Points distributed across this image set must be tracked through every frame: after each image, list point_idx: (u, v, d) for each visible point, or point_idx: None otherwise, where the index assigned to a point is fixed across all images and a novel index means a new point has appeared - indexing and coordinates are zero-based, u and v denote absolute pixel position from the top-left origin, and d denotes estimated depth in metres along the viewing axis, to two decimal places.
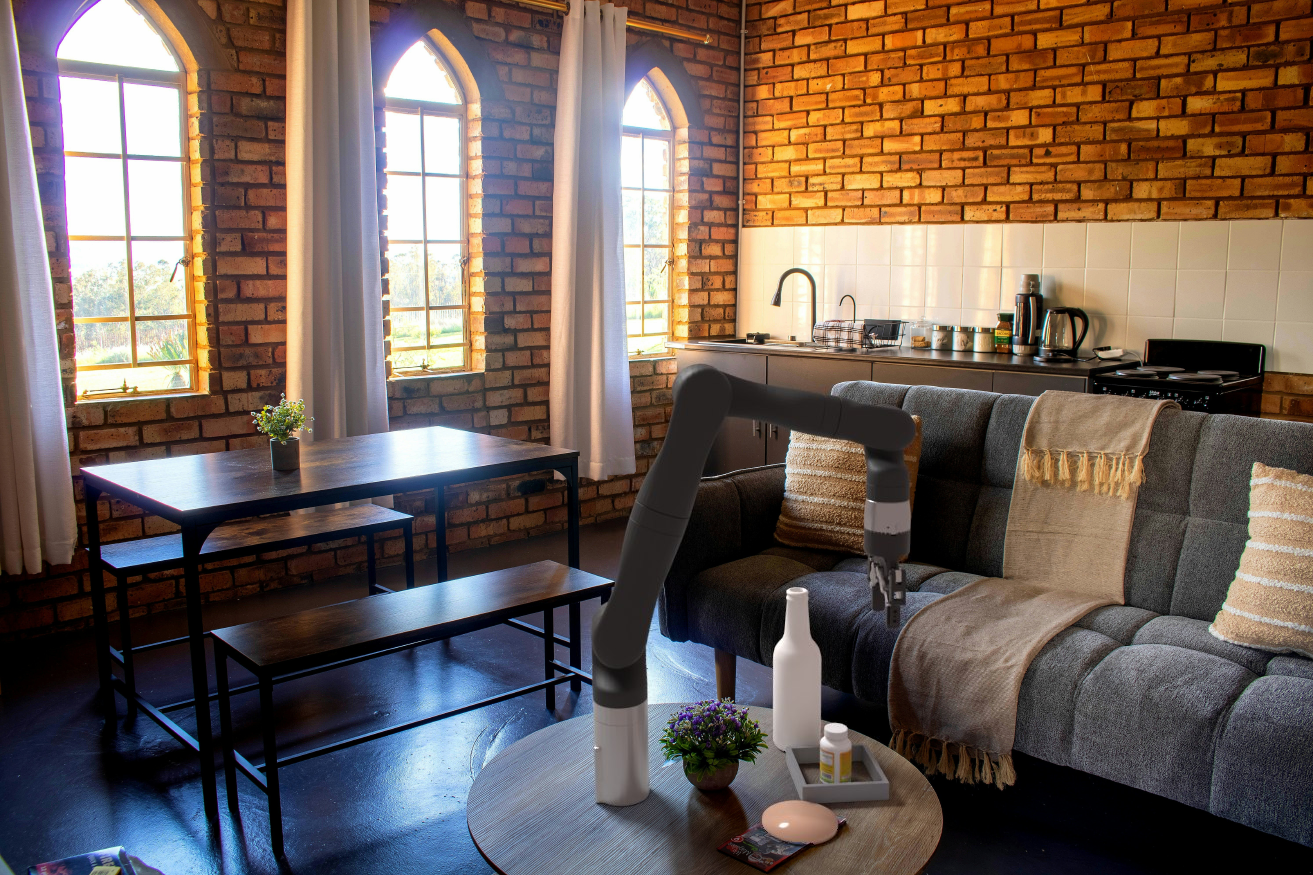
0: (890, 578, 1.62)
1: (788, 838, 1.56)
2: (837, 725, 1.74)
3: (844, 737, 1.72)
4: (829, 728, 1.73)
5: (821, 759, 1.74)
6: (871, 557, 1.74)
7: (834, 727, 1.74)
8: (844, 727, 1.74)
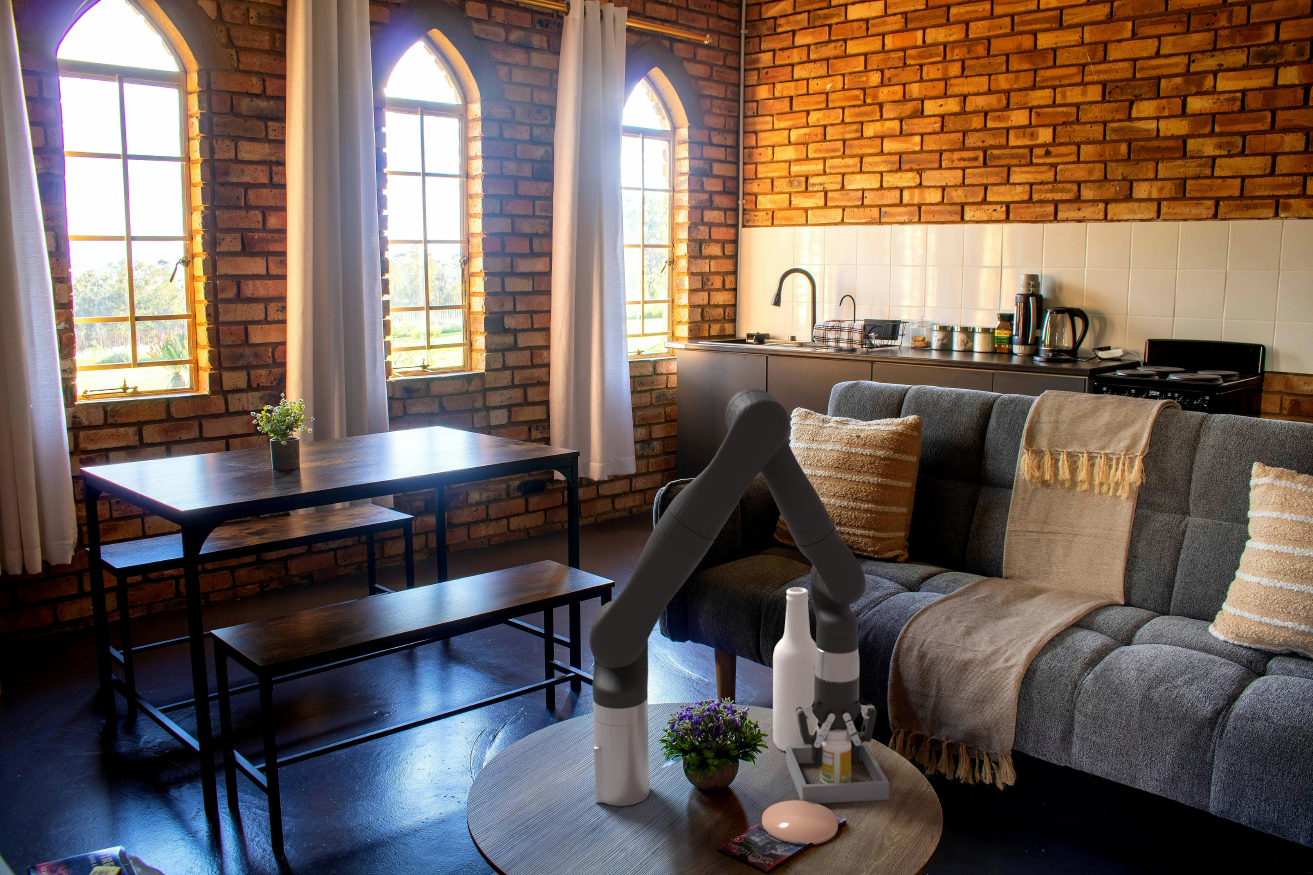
0: (874, 716, 1.72)
1: (788, 838, 1.56)
2: None
3: (844, 737, 1.72)
4: None
5: None
6: (806, 717, 1.72)
7: None
8: None
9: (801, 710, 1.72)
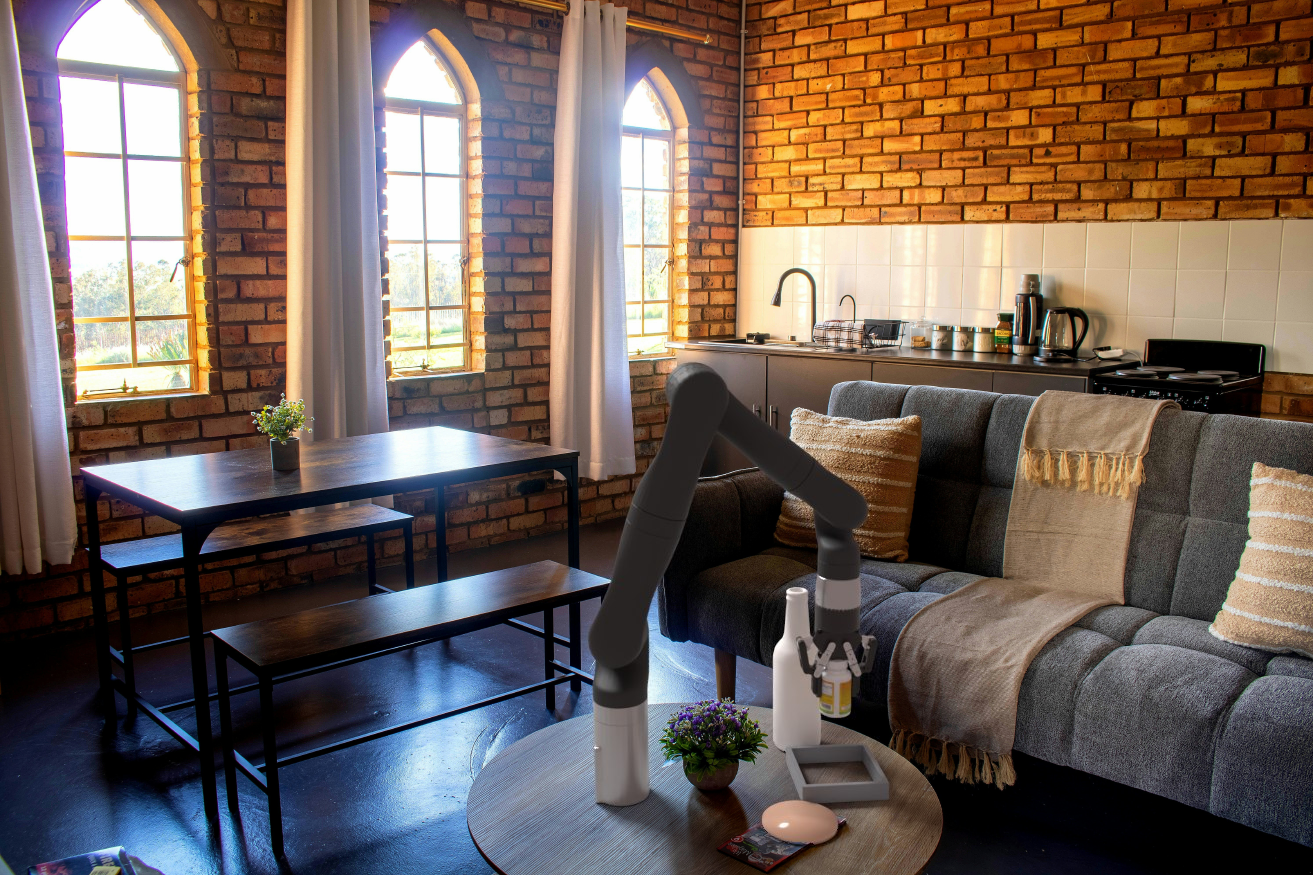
0: (874, 647, 1.71)
1: (788, 838, 1.56)
2: None
3: (844, 667, 1.70)
4: None
5: (821, 690, 1.72)
6: (806, 646, 1.70)
7: None
8: None
9: (801, 639, 1.70)
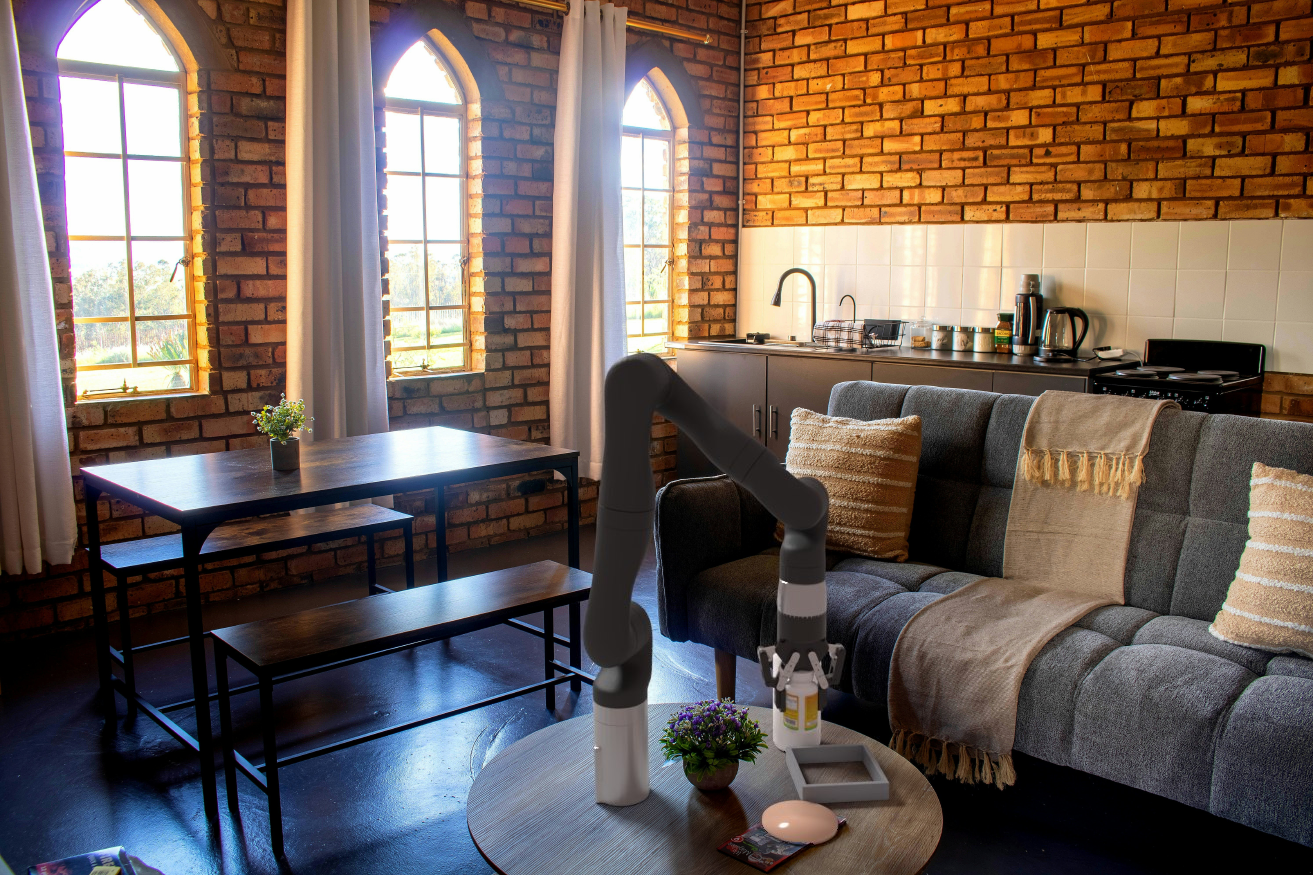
0: (842, 656, 1.57)
1: (788, 838, 1.56)
2: None
3: (810, 679, 1.56)
4: None
5: None
6: (768, 657, 1.56)
7: None
8: None
9: (762, 649, 1.56)
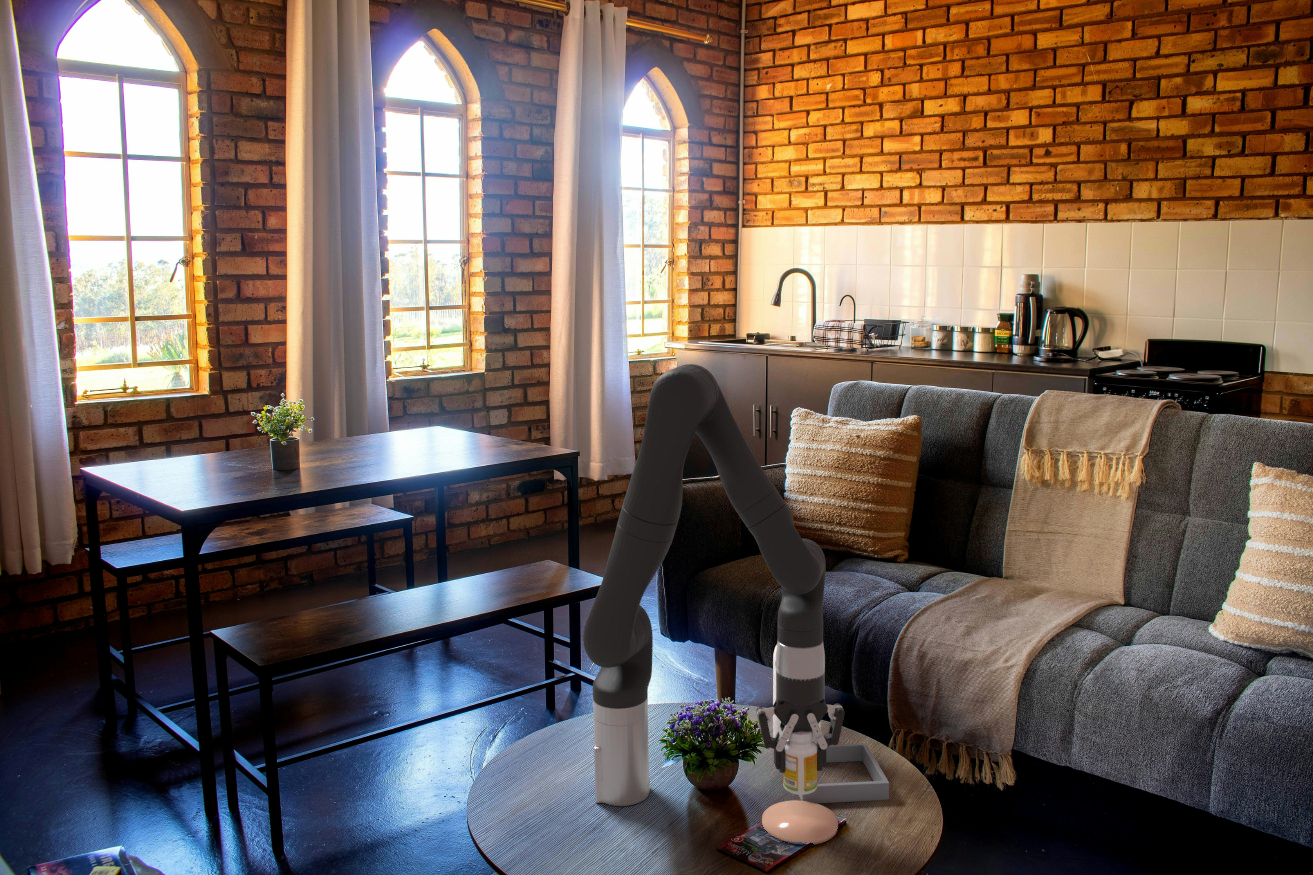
0: (841, 717, 1.57)
1: (788, 838, 1.56)
2: None
3: (809, 740, 1.57)
4: None
5: None
6: (767, 718, 1.57)
7: None
8: None
9: (761, 710, 1.57)
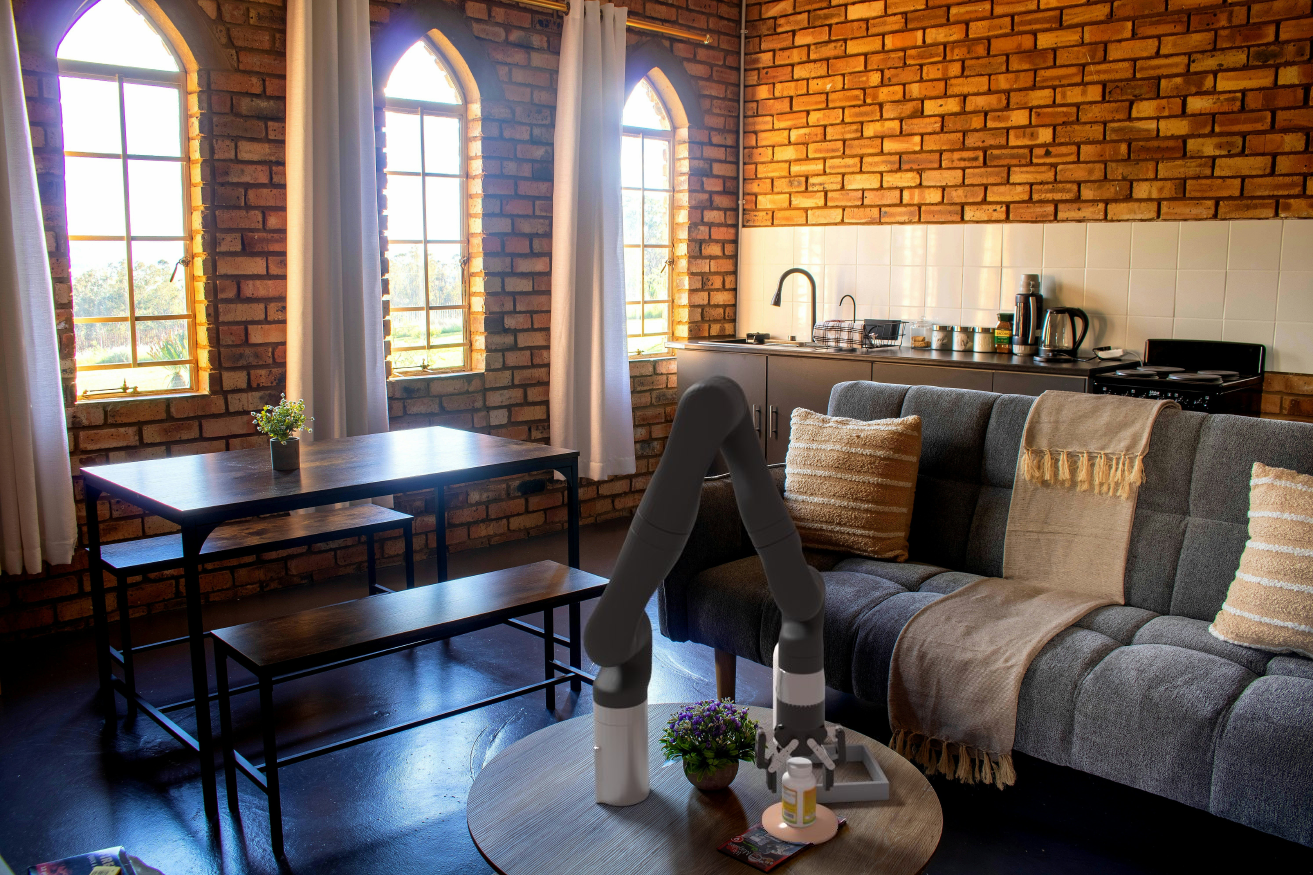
0: (842, 737, 1.58)
1: (788, 838, 1.56)
2: (801, 759, 1.60)
3: (808, 773, 1.58)
4: (792, 763, 1.59)
5: (783, 797, 1.60)
6: (766, 740, 1.58)
7: (798, 762, 1.60)
8: (808, 762, 1.60)
9: (762, 731, 1.58)
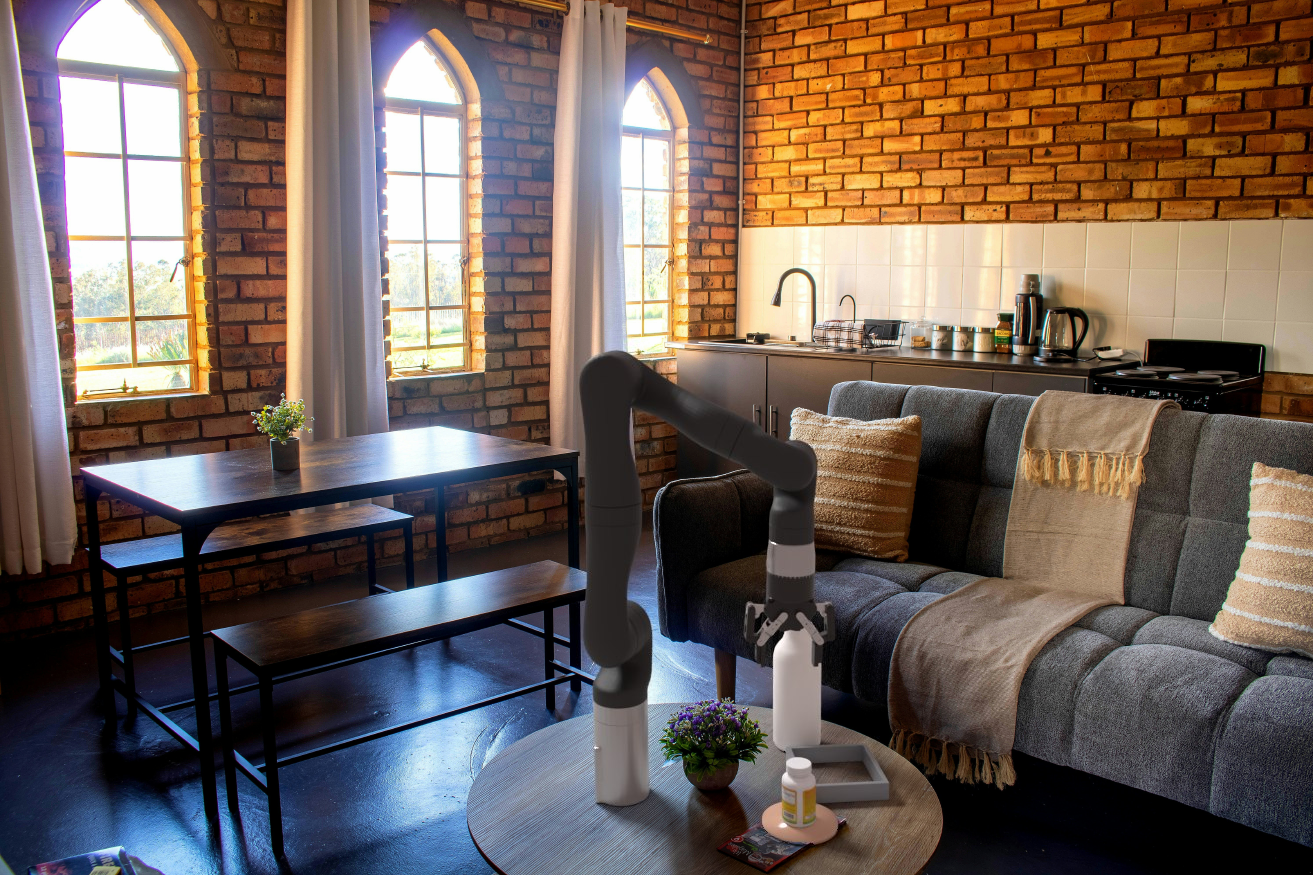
0: (832, 613, 1.59)
1: (788, 838, 1.56)
2: (800, 760, 1.60)
3: (807, 773, 1.58)
4: (792, 763, 1.59)
5: (783, 797, 1.60)
6: (755, 613, 1.59)
7: (797, 762, 1.60)
8: (808, 762, 1.60)
9: (752, 604, 1.59)
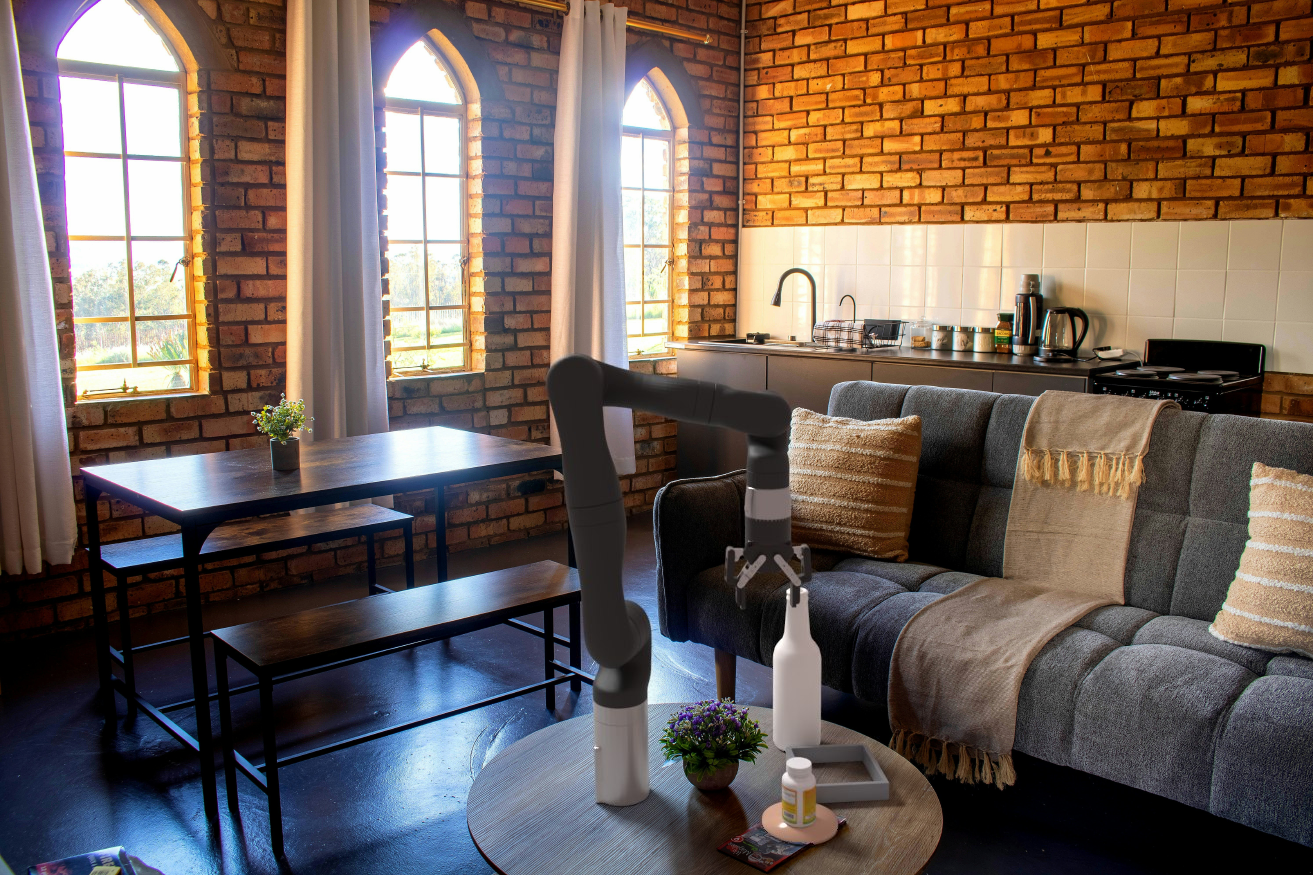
0: (808, 554, 1.66)
1: (788, 838, 1.56)
2: (800, 759, 1.60)
3: (808, 773, 1.58)
4: (792, 763, 1.59)
5: (783, 797, 1.60)
6: (735, 556, 1.66)
7: (797, 762, 1.60)
8: (808, 762, 1.60)
9: (732, 548, 1.66)
